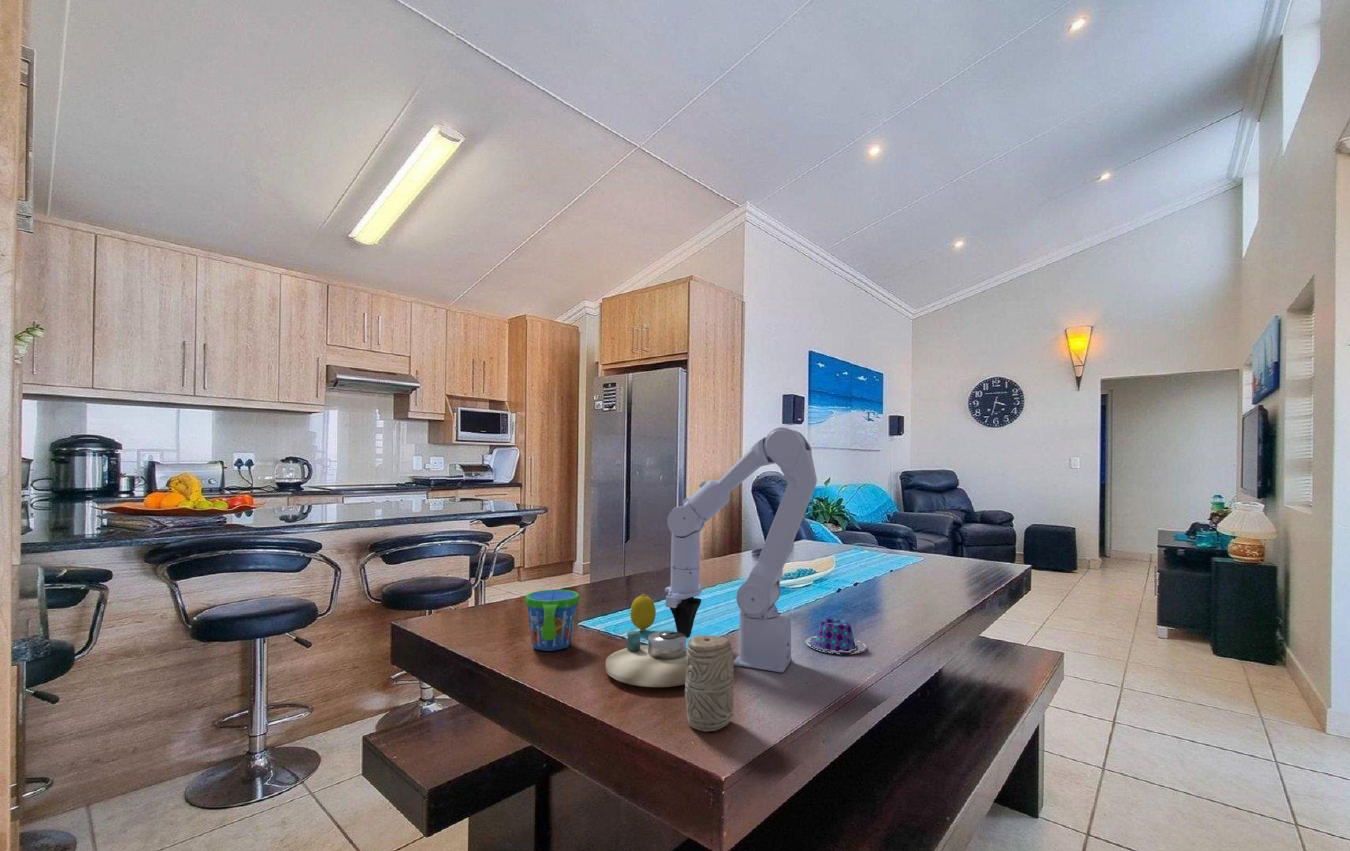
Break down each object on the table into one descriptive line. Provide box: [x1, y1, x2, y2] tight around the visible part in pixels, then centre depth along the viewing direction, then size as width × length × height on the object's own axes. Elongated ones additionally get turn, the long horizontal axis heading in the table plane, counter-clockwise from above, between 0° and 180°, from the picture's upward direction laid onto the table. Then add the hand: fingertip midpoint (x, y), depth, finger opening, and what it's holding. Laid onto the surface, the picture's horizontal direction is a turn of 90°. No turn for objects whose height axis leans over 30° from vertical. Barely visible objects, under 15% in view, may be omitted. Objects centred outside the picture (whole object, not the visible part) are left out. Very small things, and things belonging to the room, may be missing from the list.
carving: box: [684, 634, 735, 733], centre depth 81 cm, size 6×8×12 cm
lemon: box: [630, 593, 657, 632], centre depth 125 cm, size 6×6×8 cm
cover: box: [647, 630, 687, 660], centre depth 105 cm, size 7×7×4 cm
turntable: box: [605, 630, 688, 688], centre depth 100 cm, size 18×18×4 cm
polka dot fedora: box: [805, 618, 868, 655], centre depth 117 cm, size 12×12×5 cm
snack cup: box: [524, 589, 580, 652], centre depth 114 cm, size 16×10×10 cm
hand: (684, 636), depth 112 cm, fingers closed
